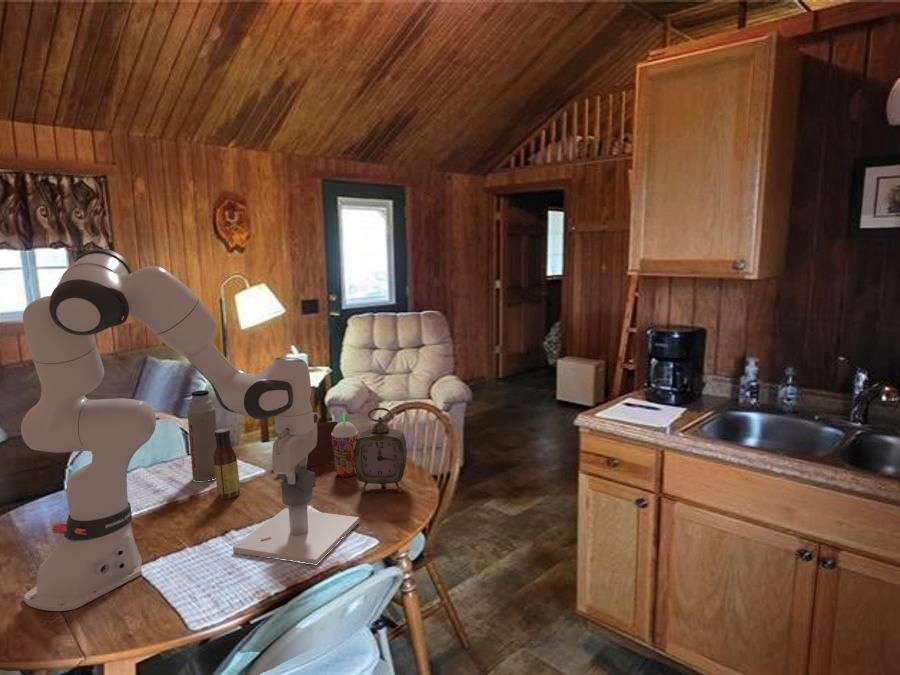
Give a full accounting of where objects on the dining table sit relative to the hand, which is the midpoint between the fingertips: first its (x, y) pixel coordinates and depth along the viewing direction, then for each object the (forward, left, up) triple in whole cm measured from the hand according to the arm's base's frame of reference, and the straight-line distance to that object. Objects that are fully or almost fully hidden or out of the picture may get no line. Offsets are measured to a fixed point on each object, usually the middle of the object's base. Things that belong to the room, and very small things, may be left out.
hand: (297, 478), depth 141 cm
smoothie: (+41, +9, -16) cm, 45 cm away
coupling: (0, +1, -6) cm, 6 cm away
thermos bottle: (+27, +51, -16) cm, 59 cm away
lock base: (0, +1, -16) cm, 16 cm away
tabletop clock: (+33, -7, -16) cm, 38 cm away
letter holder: (+48, +26, -16) cm, 57 cm away
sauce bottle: (+17, +35, -16) cm, 42 cm away
